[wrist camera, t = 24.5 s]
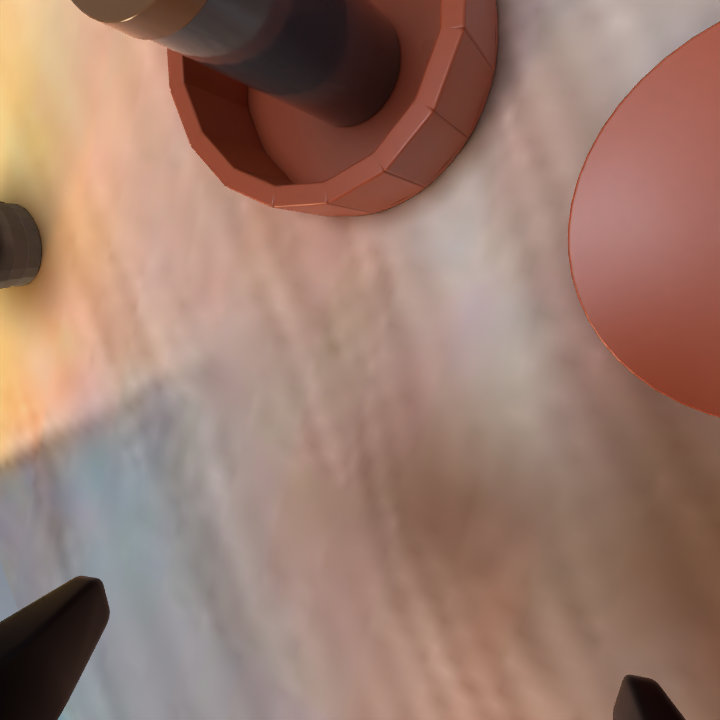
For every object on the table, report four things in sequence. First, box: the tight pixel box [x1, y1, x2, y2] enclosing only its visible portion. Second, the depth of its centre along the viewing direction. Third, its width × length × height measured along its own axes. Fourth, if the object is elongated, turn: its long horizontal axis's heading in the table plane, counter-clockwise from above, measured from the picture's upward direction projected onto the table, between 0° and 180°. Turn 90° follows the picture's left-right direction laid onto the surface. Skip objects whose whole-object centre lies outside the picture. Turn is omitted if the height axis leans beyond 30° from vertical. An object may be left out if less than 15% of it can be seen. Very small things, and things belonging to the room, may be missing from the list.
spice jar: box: [72, 0, 400, 127], centre depth 15 cm, size 4×4×10 cm
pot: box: [167, 0, 498, 216], centre depth 17 cm, size 10×10×4 cm
